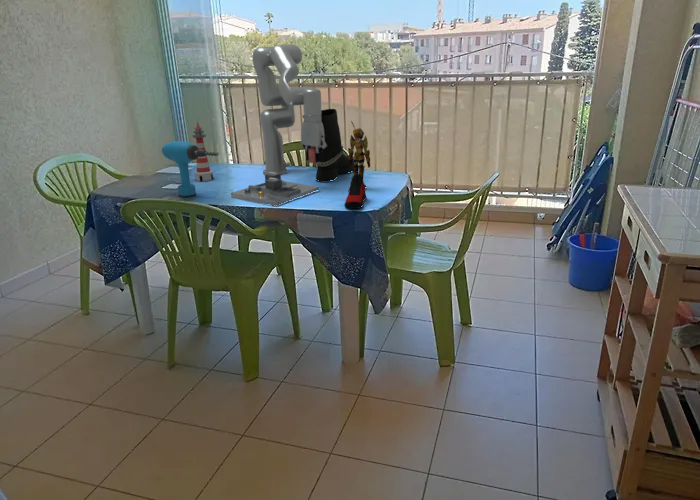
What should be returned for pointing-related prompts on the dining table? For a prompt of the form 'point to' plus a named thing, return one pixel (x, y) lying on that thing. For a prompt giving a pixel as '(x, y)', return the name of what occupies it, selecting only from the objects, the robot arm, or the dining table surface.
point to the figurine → (359, 151)
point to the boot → (332, 149)
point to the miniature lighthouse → (202, 158)
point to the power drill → (184, 162)
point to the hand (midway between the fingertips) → (313, 160)
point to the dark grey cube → (272, 175)
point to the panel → (273, 193)
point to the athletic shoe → (356, 192)
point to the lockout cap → (312, 154)
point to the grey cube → (273, 183)
